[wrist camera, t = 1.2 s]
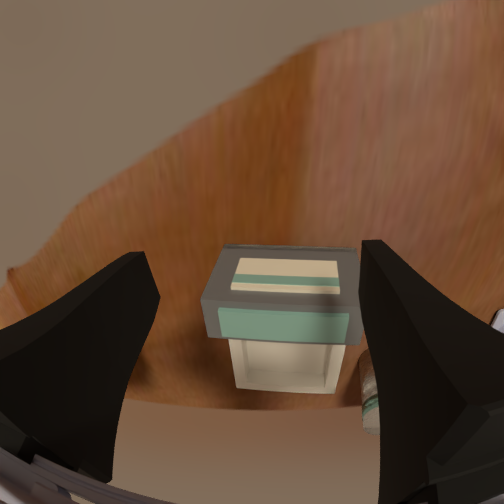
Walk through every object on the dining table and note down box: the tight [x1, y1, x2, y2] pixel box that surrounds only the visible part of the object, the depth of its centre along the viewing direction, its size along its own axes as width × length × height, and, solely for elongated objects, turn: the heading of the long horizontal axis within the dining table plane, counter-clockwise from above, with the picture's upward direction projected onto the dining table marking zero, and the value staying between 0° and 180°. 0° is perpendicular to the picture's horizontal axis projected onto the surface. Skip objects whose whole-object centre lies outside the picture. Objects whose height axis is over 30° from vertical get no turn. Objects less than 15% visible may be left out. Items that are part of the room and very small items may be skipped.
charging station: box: [200, 244, 364, 394], centre depth 22 cm, size 9×14×6 cm, turn 3°
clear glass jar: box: [359, 348, 380, 435], centre depth 23 cm, size 4×4×7 cm
